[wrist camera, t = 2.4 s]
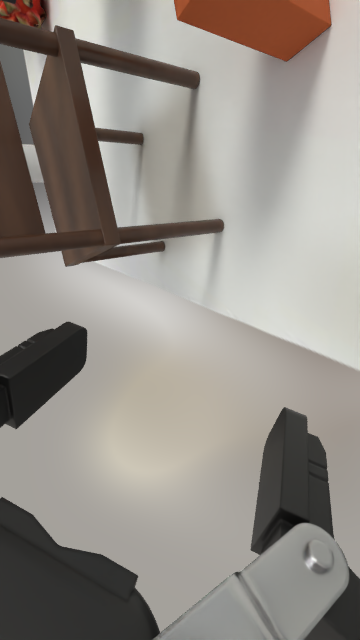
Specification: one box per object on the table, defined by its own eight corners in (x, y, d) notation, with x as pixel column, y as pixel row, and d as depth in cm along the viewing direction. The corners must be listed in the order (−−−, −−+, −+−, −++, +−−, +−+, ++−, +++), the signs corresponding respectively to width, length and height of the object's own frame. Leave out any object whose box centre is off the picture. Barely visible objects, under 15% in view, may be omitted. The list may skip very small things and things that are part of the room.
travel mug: (63, 142, 54) (-73, 132, 44) (69, 181, 57) (-58, 181, 46) (54, 147, 59) (-72, 138, 48) (60, 183, 62) (-58, 182, 51)
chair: (161, 257, 37) (-125, 302, 23) (136, 130, 35) (-203, 90, 20) (227, 237, 27) (-206, 295, 13) (198, 57, 25) (-377, -121, 10)
